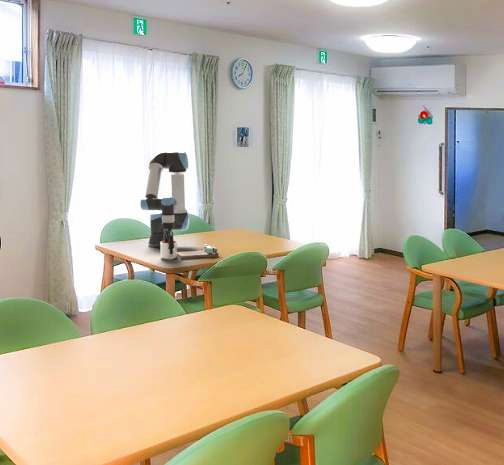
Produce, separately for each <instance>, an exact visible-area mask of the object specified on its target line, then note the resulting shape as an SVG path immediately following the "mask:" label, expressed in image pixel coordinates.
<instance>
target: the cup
mask: <svg viewBox="0 0 504 465" xmlns="http://www.w3.org/2000/svg"><path fill="white" fill-rule="evenodd" d="M177 246H178V241H176V240H174V248H173V259H172V260H174V259H176V258H178V257H177V252H178V247H177ZM159 248H160V258H161V259H164V260H170V259H169V249H168V248H169V243H168V242H165V241H162V242H160V247H159Z"/></svg>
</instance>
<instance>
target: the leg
mask: <svg viewBox="0 0 504 465" xmlns="http://www.w3.org/2000/svg"><path fill="white" fill-rule="evenodd" d="M203 246H204V247H203V250H205V251H206V252H207V253H213V248H212V247H213V246H210V245H209V244H208V243H207V244H206V243H205V244H204V245H203Z"/></svg>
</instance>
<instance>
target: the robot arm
mask: <svg viewBox="0 0 504 465" xmlns="http://www.w3.org/2000/svg"><path fill="white" fill-rule="evenodd" d="M148 169H149V174H148V178H147V184H146V185H147V186H146V190H145V196H144V197H142V198H141V199H140V208H141V210H142V211H155V212H152V213H151V214H150V218H149V221H150V222H149V223H150V236H149V238H148V242H147V243H148V247H150V248H160V242H162V241H165V242H168V243H169V248H168V249H169V259H168V260H174V259H173V248H174V241H175V240H174V232H173V231H187V230H188V229H189V226H190V215H191V214H190V213H189V212H188V210H187V209H186V203H185V202H186V201H185V200H186V199H185V197H186V194H185V173H186V172H187V169H189V158H188V154H187V152H185V151H182V150H162V151H159V152H157V153H156V154H154V156H153V157H152V158H151V159H150V160H149V165H148ZM164 169H165V170H167V169H168V173H169V174H170V177H171V178H170V179H171V196H170V195H169V196H162V197H160V198H159V197H158V196H159V190H160V184H161V183H160V182H161V176H162V172H164Z"/></svg>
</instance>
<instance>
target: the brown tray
mask: <svg viewBox="0 0 504 465" xmlns="http://www.w3.org/2000/svg"><path fill="white" fill-rule="evenodd" d="M211 247H212V248H213V253H207V252H206V251H205V250H204V249H202V250H201V249H200V250H189V251H177V257H176V258H179V259H180V260H192V259H194V260H195V259H204V258H205V259H207V258H218V257H219V253H218V248H217V247H216V246H214V245H213V246H211Z"/></svg>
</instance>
